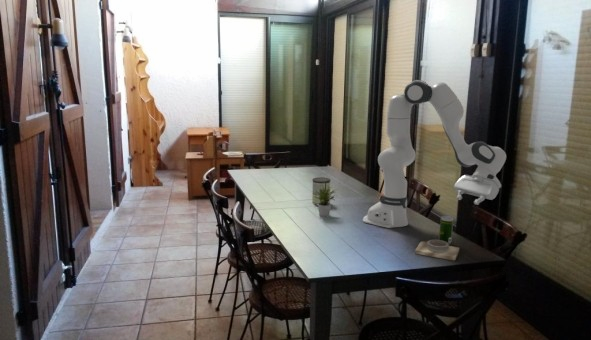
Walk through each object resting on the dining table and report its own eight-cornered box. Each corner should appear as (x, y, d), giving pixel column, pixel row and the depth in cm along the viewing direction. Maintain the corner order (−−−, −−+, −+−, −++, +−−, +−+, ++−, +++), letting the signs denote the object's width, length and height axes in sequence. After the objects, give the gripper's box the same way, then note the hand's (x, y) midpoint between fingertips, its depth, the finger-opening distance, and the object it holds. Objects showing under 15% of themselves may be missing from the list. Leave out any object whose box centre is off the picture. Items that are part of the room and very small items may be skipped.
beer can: (453, 243, 209) (455, 217, 207) (447, 246, 205) (450, 219, 203) (442, 240, 213) (444, 214, 210) (436, 243, 209) (438, 217, 206)
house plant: (336, 221, 238) (337, 189, 235) (309, 219, 241) (310, 188, 237) (339, 213, 252) (340, 183, 248) (314, 211, 254) (314, 182, 251)
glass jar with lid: (312, 200, 276) (313, 177, 273) (330, 201, 275) (330, 177, 272) (311, 205, 266) (311, 181, 263) (329, 205, 265) (330, 181, 262)
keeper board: (415, 253, 196) (415, 244, 196) (421, 244, 207) (421, 235, 206) (454, 260, 189) (455, 251, 188) (459, 250, 200) (459, 242, 199)
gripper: (461, 169, 222) (445, 192, 219) (499, 177, 205) (483, 202, 202) (466, 177, 225) (451, 200, 222) (504, 186, 208) (488, 210, 205)
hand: (466, 201), depth 212 cm, fingers open, 8 cm apart
